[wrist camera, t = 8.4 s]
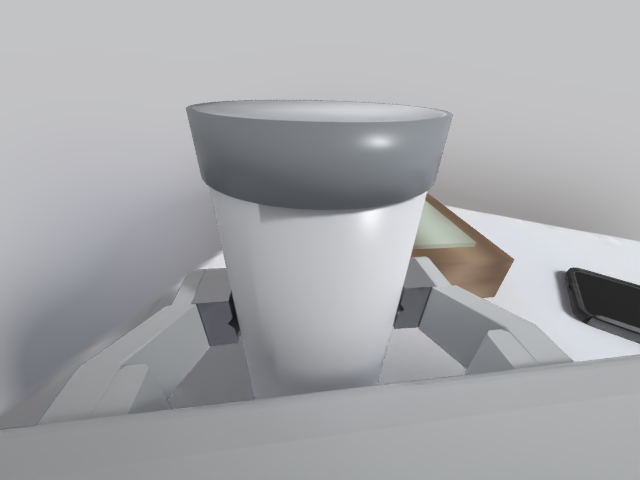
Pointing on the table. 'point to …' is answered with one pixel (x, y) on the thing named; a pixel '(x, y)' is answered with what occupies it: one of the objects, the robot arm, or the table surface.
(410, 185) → the canister
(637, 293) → the phone
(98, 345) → the table surface
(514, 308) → the table surface
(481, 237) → the walnut base
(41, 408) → the table surface
